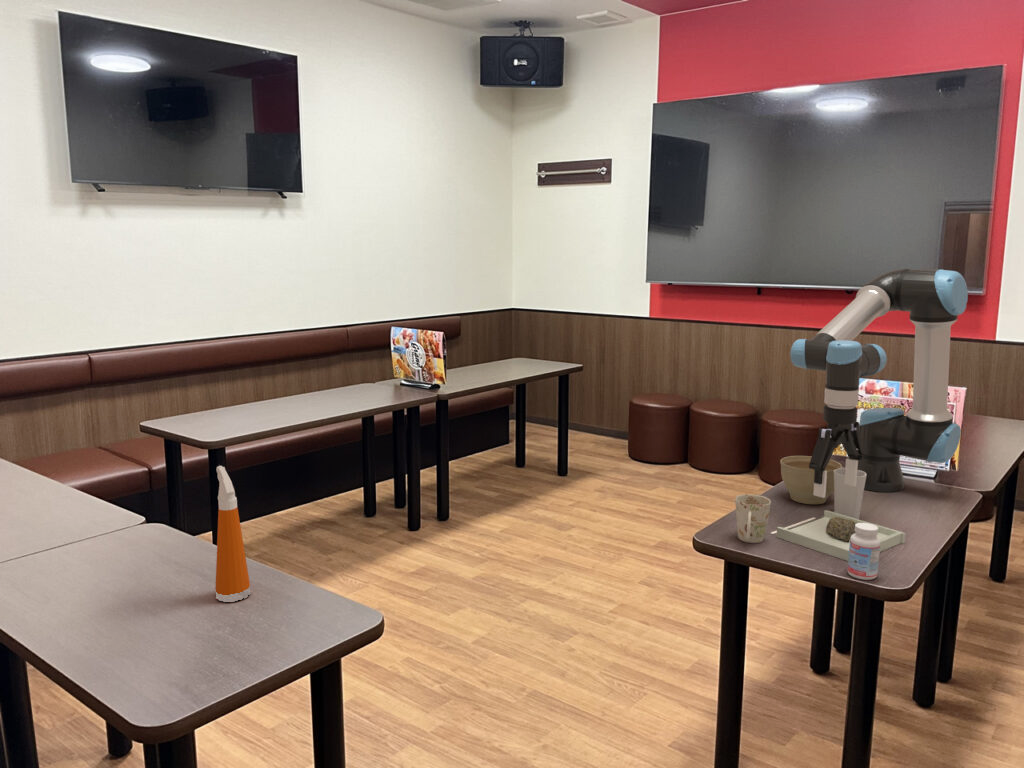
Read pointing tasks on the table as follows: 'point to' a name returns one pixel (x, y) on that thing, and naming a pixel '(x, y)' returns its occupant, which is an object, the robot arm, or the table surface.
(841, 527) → the rock
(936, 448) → the robot arm
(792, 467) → the planter bowl
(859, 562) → the pill bottle
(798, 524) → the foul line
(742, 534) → the mug
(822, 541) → the white square tray
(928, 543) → the table surface
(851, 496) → the cup
